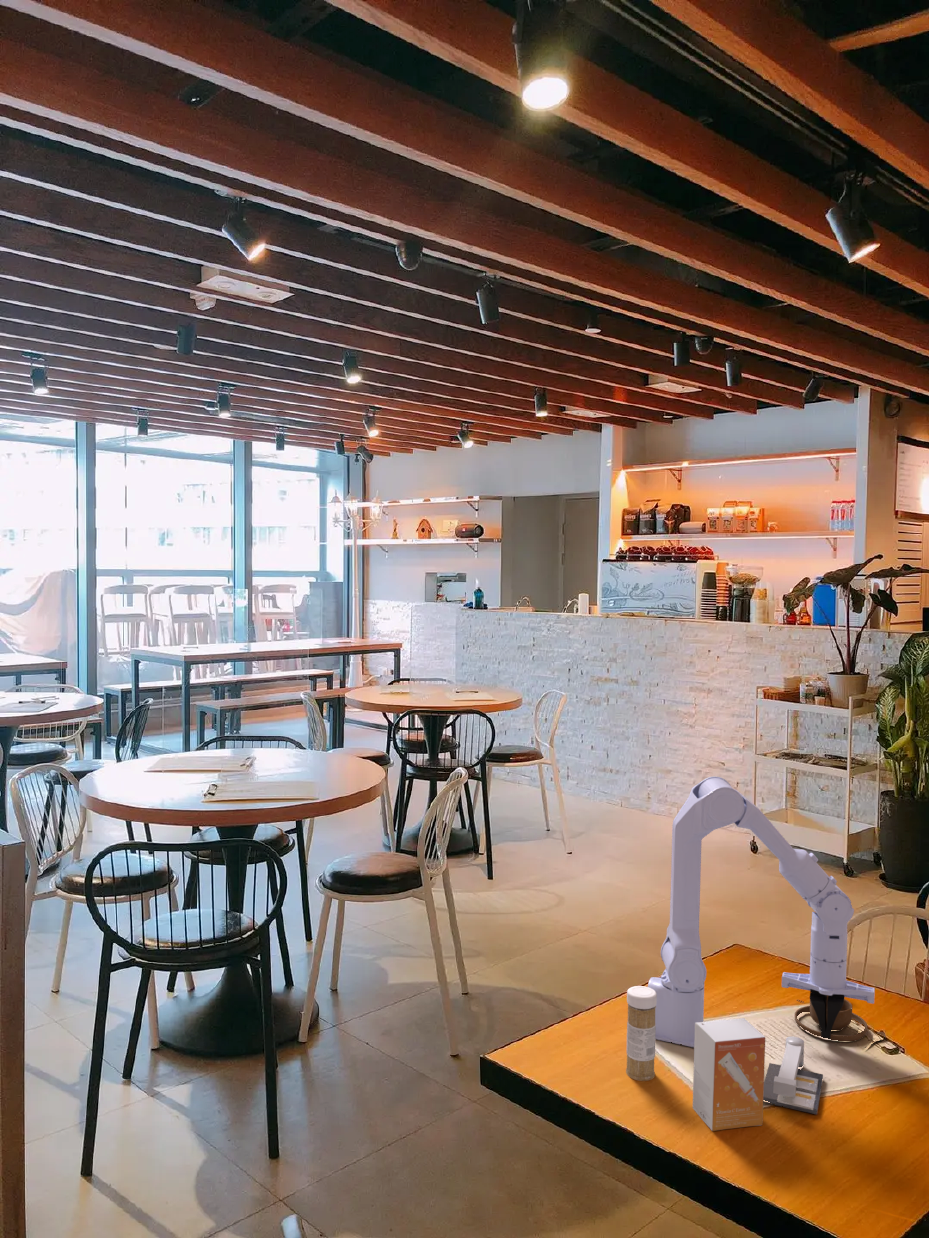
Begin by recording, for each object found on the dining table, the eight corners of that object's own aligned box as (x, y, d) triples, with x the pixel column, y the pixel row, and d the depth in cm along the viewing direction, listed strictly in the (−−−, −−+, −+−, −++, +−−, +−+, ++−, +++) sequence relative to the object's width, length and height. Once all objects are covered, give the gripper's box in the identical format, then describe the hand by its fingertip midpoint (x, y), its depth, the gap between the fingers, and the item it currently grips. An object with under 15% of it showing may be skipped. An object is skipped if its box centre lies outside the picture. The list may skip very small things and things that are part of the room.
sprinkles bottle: (642, 1065, 152) (644, 982, 152) (661, 1078, 148) (662, 993, 148) (619, 1071, 150) (621, 987, 150) (637, 1085, 146) (639, 999, 146)
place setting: (765, 1023, 169) (766, 990, 169) (817, 990, 183) (818, 960, 183) (864, 1059, 157) (865, 1023, 156) (911, 1020, 170) (912, 988, 170)
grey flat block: (759, 1102, 142) (759, 1089, 142) (772, 1056, 156) (772, 1044, 156) (816, 1116, 138) (817, 1102, 138) (824, 1067, 152) (825, 1055, 152)
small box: (712, 1132, 134) (714, 1041, 133) (691, 1108, 140) (693, 1021, 140) (764, 1126, 136) (766, 1036, 135) (741, 1102, 142) (743, 1016, 141)
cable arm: (785, 1045, 155) (786, 1034, 155) (805, 1049, 153) (805, 1038, 153) (773, 1092, 140) (773, 1080, 140) (794, 1097, 139) (795, 1085, 139)
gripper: (780, 956, 160) (778, 1036, 160) (874, 972, 154) (872, 1055, 154) (785, 942, 166) (783, 1019, 167) (875, 957, 160) (873, 1036, 161)
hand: (826, 1035), depth 161 cm, fingers closed
